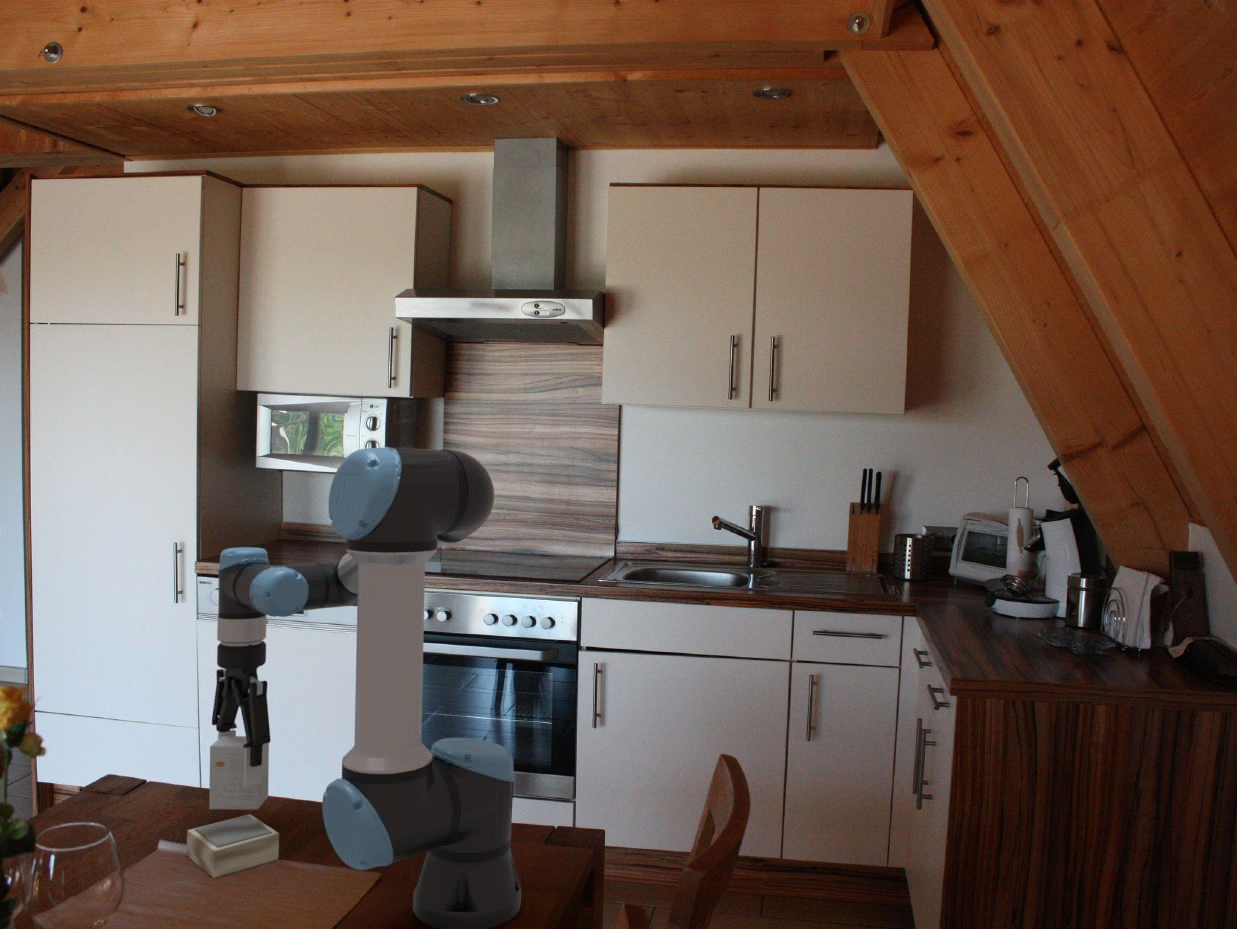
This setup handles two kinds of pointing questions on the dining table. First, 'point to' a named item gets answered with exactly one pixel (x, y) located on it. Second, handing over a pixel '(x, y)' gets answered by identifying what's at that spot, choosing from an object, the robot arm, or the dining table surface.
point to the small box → (234, 776)
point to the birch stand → (232, 845)
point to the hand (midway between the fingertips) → (239, 777)
